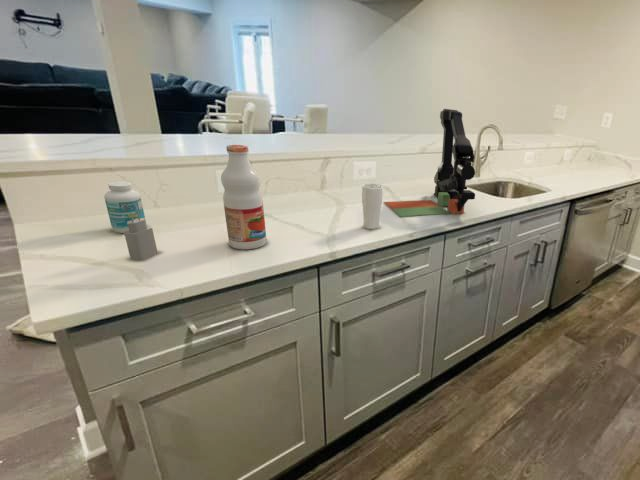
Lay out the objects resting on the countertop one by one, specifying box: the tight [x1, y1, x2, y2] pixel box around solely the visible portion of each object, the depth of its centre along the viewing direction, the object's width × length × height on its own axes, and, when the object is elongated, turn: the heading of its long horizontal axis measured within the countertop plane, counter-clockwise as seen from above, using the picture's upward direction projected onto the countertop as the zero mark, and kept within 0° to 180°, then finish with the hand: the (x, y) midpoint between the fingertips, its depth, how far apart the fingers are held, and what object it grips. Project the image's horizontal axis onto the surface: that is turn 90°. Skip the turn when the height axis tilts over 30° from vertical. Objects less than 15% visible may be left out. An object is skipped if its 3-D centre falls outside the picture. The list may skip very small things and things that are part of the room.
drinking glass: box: [361, 183, 383, 230], centre depth 133 cm, size 7×7×15 cm
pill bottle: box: [104, 181, 147, 234], centre depth 107 cm, size 8×7×14 cm
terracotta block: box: [447, 199, 465, 215], centre depth 164 cm, size 5×5×5 cm
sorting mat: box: [384, 199, 451, 218], centre depth 162 cm, size 22×18×1 cm
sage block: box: [437, 192, 450, 207], centre depth 171 cm, size 5×5×5 cm
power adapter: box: [123, 210, 159, 262], centre depth 95 cm, size 3×5×12 cm, turn 177°
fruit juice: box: [220, 144, 267, 250], centre depth 106 cm, size 9×9×28 cm
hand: (455, 209), depth 164 cm, fingers closed on terracotta block, 5 cm apart
